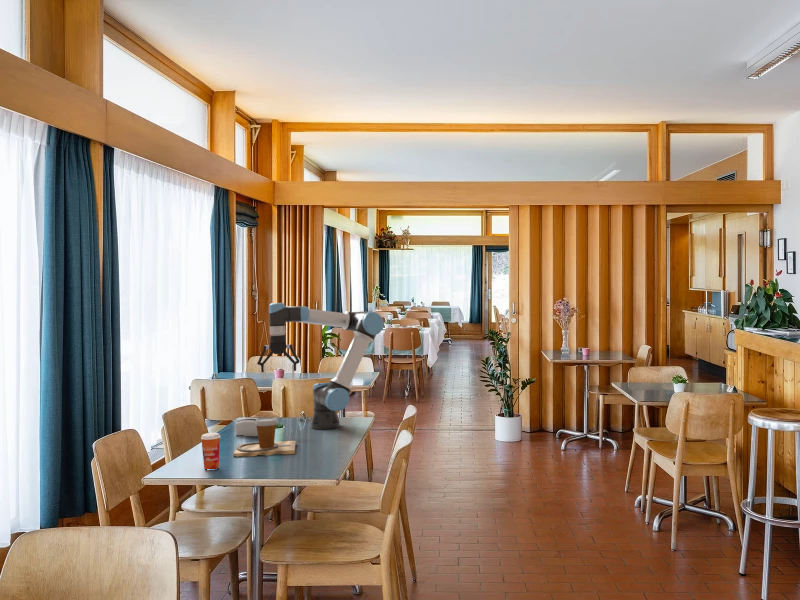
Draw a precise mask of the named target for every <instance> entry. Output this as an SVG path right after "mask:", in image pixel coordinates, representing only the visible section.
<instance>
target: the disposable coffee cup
mask: <svg viewBox="0 0 800 600" xmlns="http://www.w3.org/2000/svg"><path fill="white" fill-rule="evenodd" d="M277 423H278V421H277V418H273V417H262V418H257V420H256V423H255V424H256V426H257V433H258V436H257V438H258V442H259V446H260V447H261V448H270V447H273V446H274V442H275V437H276V428H277Z"/></svg>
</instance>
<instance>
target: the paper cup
mask: <svg viewBox="0 0 800 600" xmlns="http://www.w3.org/2000/svg"><path fill="white" fill-rule="evenodd" d="M200 439H201V448H202V460H203V468H204V469H216V468H220V447H221V446H220V441H221V440H220V439H221V435H220V433H218V432H207V433H203V434H202V435H201V437H200Z"/></svg>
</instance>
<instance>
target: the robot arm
mask: <svg viewBox="0 0 800 600" xmlns="http://www.w3.org/2000/svg"><path fill="white" fill-rule="evenodd" d="M268 306H269V307H268V315H269V316H268V317H269V318H268V319H269V335H270V336H269V345H266V344H265V345H263V349H262V352H261V353H260V356H259V359H258V361H257V363H256V365H259V366H260V369H261V371H260V372H261V373H263V380H267V372H266V371H267V370H266V369H267V368H266V364H267V362H268V360H269V359H270V358H271V357H272V355H278V354H279V355H282V354H284V355H285V357H286V358H287V359H288V360H289V361H290V362H291V363H292V364H291V371H292V372H291V373H292V375H291V376H292V377H291V378H292V379H295V372H296V371H297V365H298V364H300V359H299V357H298V355H297V353H296V351H295V350H294V347H293V344H292V343H290V344H287V341H286V340H287V339H286V338H287V335H285V334H286V323H302V324H311V325H318V326H319V325H320V326H326V327H327V326H329V327H335V328H342V330H344V331H350V332H353V337H352V340H351V342H350V344H349V346H348V349H347V351H346V353H345V355H344V357H343V358H342V361H341V363H340V365H339V368H338V370H337V372H336V374H335V375H334V378H332V379H330V380H329V382H321V383H314V384H313V387H312V393H313V394H312V395H313V396H312V399H313V414H312V418H311V422H310V428H311V429H314V430H333V429H337V428H340V427H341V421H340V418H339V415H338V413H337V412H339V411H342V410H344V409H346V408H347V406H348V405H349V403H350V393H351V391H352V388H351V383H352V381H353V379H354V377H355V375H356V372H357V370H358V368H359V366H360V364H361V362H362V359H363V357H364V355H365V353H366V350H367V349H368V346H369V344H370V343H372V342H374V340H375V338H376V337H377V335H378V334H381V332H382V330H384V319H383V317H382V315H380V314H379V313H378V312H375V311H373V310H371V311H345V312H337V311H327V310H322V309H312V308H309V307H308V306H305V305H304V306H303V305H300V306H299V305H298V306H297V305H295V306H289V305H288V306H287V305H285V302H272V303H270V304H269V305H268ZM287 349H288V350H290V352H291V354H292V355H293V357H294V359H295V360H294V359H293V357H292V356H291V355H290V354H289V353H288V352H287V351H286V350H287ZM267 350H270V353H268V355H267V356H266V358H265V359H264V360H263V358H264V355H265V354H266V352H267ZM262 360H263V361H262ZM261 361H262V362H261Z"/></svg>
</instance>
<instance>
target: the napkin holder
mask: <svg viewBox="0 0 800 600" xmlns="http://www.w3.org/2000/svg"><path fill="white" fill-rule="evenodd" d="M257 419H258V418H256V417H245V418H240V419H238V420H236V423H235V424H234V427H235V429H234V430H235V436H236V435H244V436H245V437H258V433H257V426H256V424H255V423H256V420H257ZM244 436H243V437H244Z"/></svg>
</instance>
